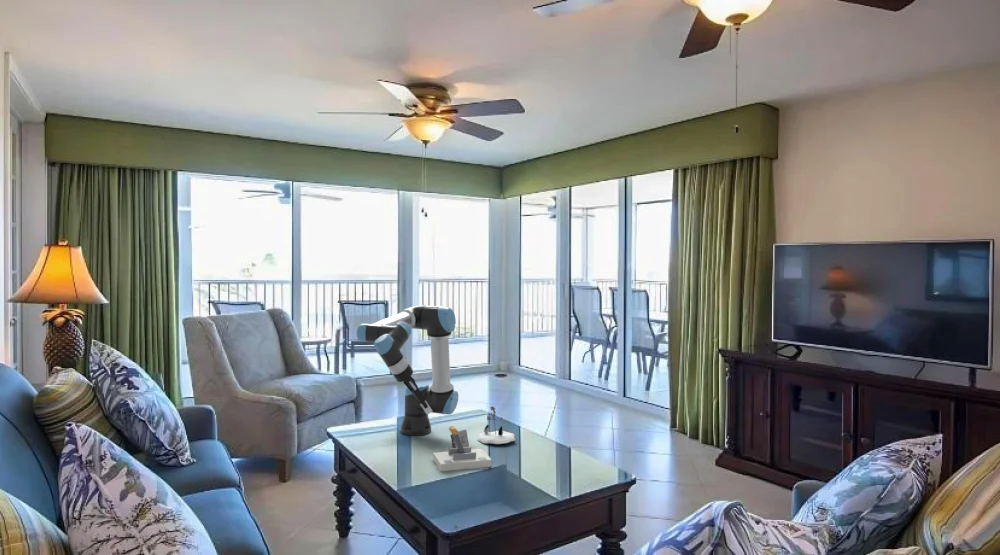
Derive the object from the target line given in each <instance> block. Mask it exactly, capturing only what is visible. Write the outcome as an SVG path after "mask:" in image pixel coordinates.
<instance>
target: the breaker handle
mask: <svg viewBox="0 0 1000 555" xmlns="http://www.w3.org/2000/svg"><path fill="white" fill-rule="evenodd" d="M448 430H449V431H450V433H451V434H452V435H453V438H454V440H453V441H455V443H456V446H457V448H458V452H459V453H465V451H464V449H463V446H462V444H461V441H460V438H459V436H458V431H459V430H457V428H456V427H455V426H454V425H450V426H448Z"/></svg>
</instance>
